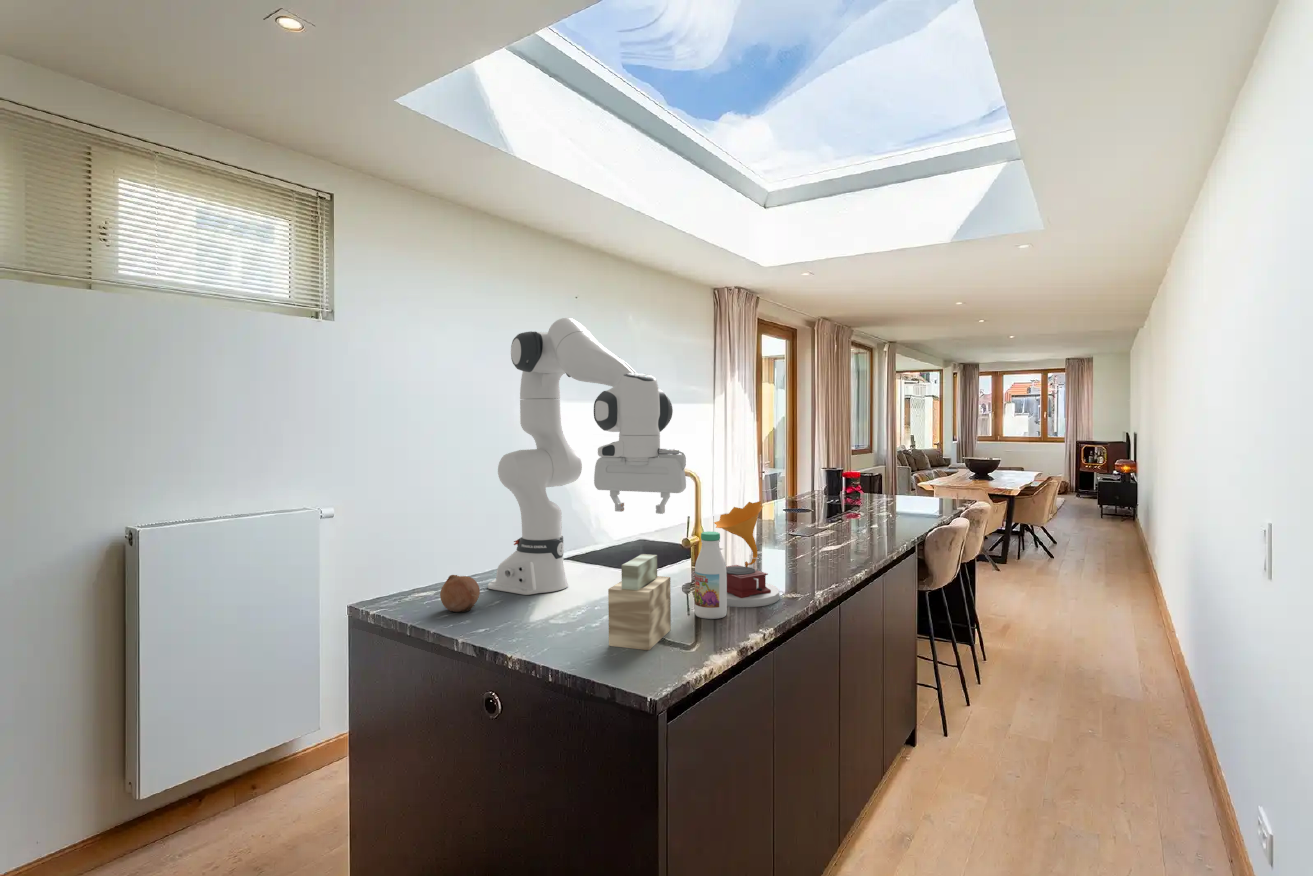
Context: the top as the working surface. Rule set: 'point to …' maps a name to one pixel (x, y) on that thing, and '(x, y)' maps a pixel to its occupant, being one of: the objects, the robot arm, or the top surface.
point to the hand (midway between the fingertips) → (639, 512)
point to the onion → (459, 593)
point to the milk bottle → (710, 579)
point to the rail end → (639, 572)
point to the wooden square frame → (639, 614)
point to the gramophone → (744, 581)
